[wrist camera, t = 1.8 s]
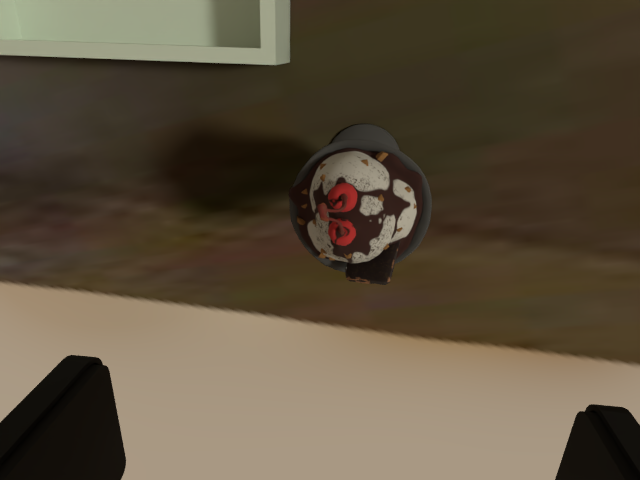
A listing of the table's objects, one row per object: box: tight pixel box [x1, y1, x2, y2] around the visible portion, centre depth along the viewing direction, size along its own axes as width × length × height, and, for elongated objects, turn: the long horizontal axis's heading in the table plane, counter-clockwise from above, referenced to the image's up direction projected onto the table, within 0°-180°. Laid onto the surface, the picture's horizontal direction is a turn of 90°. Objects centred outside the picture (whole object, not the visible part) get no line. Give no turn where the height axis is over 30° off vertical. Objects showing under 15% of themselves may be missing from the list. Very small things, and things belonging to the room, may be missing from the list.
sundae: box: [289, 124, 431, 285], centre depth 24 cm, size 7×7×15 cm
